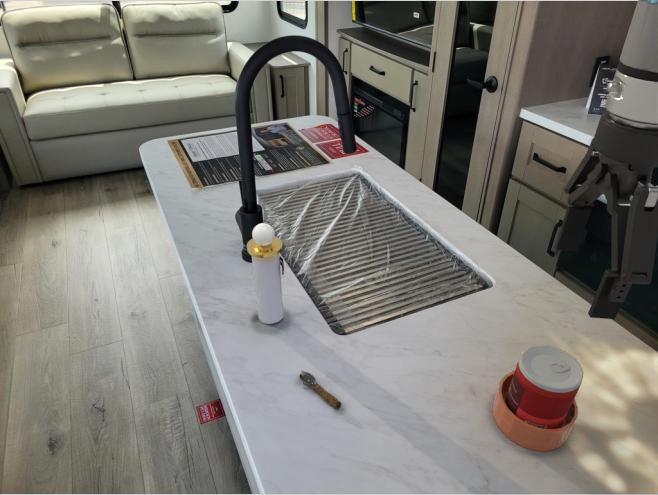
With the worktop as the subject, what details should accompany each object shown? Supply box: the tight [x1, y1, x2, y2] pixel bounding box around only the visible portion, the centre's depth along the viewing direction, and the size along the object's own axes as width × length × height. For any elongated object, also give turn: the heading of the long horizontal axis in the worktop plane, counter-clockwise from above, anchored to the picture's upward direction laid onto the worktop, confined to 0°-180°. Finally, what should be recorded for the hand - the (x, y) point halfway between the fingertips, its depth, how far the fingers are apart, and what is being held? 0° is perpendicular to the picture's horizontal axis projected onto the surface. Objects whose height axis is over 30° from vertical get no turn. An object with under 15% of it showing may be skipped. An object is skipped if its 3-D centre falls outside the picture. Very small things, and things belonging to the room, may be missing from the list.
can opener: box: [299, 370, 342, 409], centre depth 72 cm, size 9×2×1 cm, turn 39°
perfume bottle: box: [246, 222, 285, 325], centre depth 81 cm, size 6×6×20 cm
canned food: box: [505, 344, 584, 429], centre depth 65 cm, size 8×8×11 cm
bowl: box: [492, 370, 579, 452], centre depth 68 cm, size 10×10×4 cm
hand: (581, 279), depth 60 cm, fingers open, 13 cm apart
